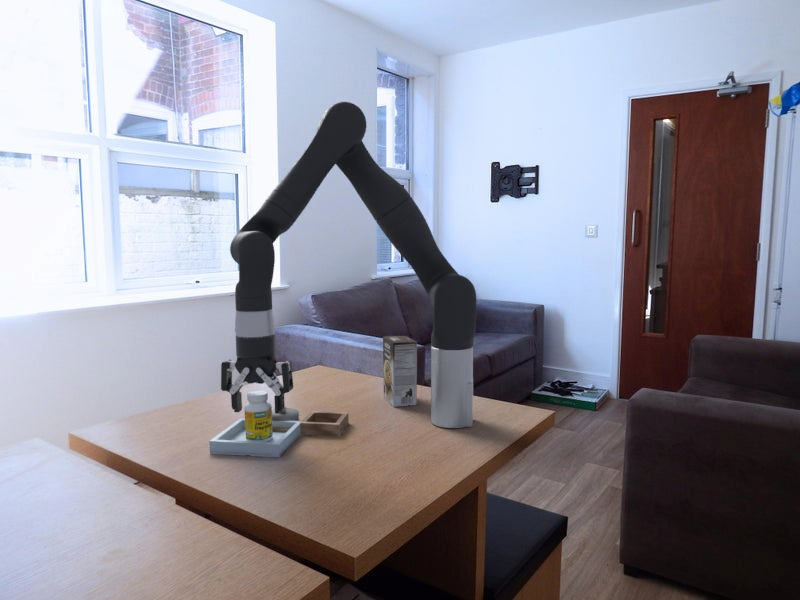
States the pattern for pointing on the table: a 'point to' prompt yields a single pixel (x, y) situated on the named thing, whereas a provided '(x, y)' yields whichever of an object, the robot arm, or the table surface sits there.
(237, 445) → the tray
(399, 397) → the coffee box
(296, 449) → the table surface
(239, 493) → the table surface
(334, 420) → the block
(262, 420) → the supplement bottle
